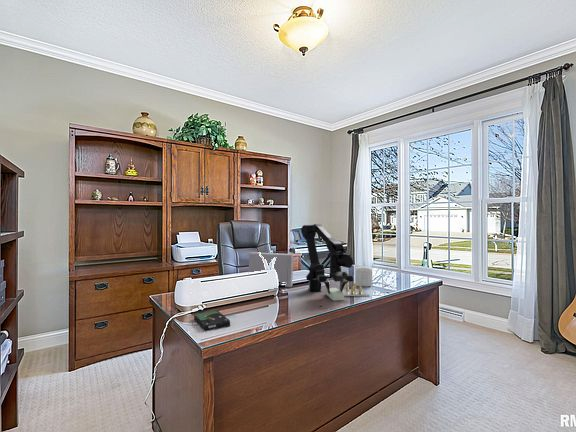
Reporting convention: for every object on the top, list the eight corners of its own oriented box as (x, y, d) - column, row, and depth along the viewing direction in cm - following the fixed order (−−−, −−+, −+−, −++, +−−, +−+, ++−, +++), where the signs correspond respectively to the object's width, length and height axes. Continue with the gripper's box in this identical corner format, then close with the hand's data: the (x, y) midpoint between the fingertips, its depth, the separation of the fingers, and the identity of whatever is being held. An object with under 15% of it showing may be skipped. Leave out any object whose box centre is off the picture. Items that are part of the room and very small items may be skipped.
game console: (290, 287, 181) (291, 255, 181) (248, 284, 186) (248, 253, 186) (292, 285, 186) (293, 253, 186) (251, 282, 192) (251, 252, 192)
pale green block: (333, 300, 154) (333, 293, 154) (325, 294, 166) (326, 288, 166) (344, 300, 155) (344, 293, 155) (336, 294, 167) (336, 287, 167)
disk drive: (230, 327, 116) (217, 316, 129) (230, 320, 116) (217, 309, 129) (204, 333, 111) (193, 320, 123) (204, 325, 111) (193, 313, 123)
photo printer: (371, 285, 190) (371, 266, 190) (372, 287, 186) (373, 267, 186) (355, 284, 191) (355, 265, 191) (356, 286, 187) (356, 266, 187)
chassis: (344, 296, 162) (345, 287, 162) (338, 291, 174) (338, 282, 174) (369, 296, 164) (369, 287, 164) (361, 290, 176) (361, 282, 176)
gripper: (321, 267, 151) (321, 298, 151) (357, 267, 154) (356, 297, 154) (317, 264, 162) (316, 292, 162) (350, 264, 165) (349, 292, 165)
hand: (334, 293), depth 160 cm, fingers closed on pale green block, 6 cm apart
